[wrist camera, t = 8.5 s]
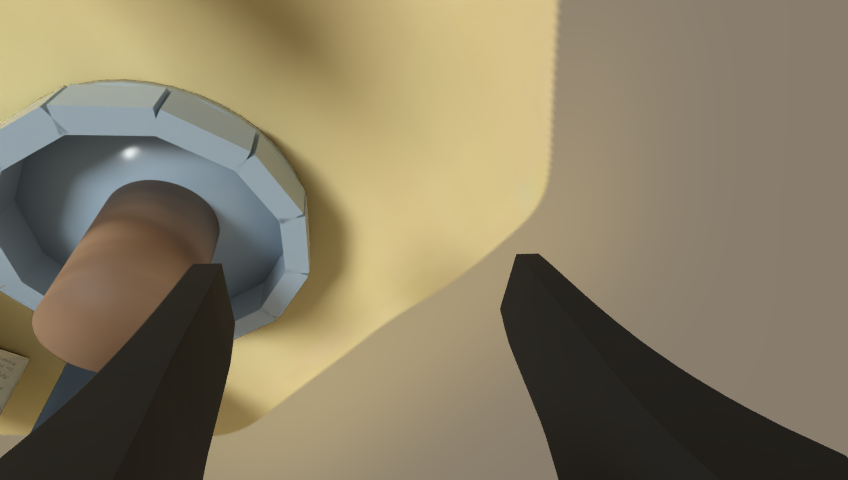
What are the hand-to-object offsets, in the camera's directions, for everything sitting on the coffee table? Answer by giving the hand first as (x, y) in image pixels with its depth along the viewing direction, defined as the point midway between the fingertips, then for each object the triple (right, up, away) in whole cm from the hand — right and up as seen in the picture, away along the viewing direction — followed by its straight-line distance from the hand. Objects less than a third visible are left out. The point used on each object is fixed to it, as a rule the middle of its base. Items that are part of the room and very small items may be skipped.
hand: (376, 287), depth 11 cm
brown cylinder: (-10, +2, +8) cm, 13 cm away
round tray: (-10, +2, +8) cm, 13 cm away
